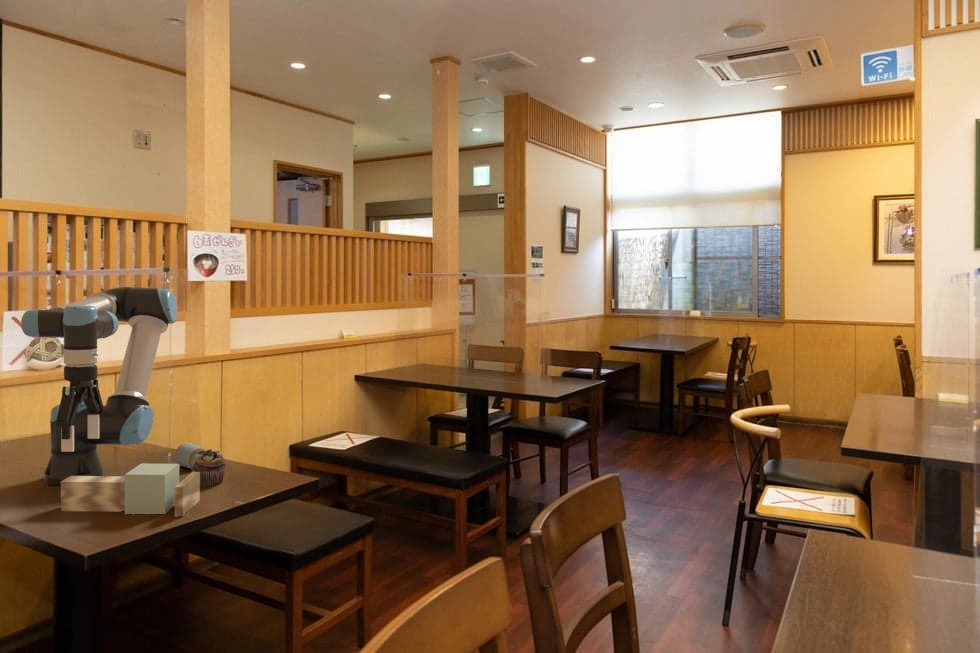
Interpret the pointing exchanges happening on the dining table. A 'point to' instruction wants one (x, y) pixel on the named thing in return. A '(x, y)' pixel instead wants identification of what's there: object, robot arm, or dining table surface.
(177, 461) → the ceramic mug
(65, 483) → the light wood rectangular block
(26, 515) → the dining table surface
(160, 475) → the socket block
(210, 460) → the cupcake
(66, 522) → the dining table surface
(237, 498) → the dining table surface
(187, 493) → the board
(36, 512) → the dining table surface
